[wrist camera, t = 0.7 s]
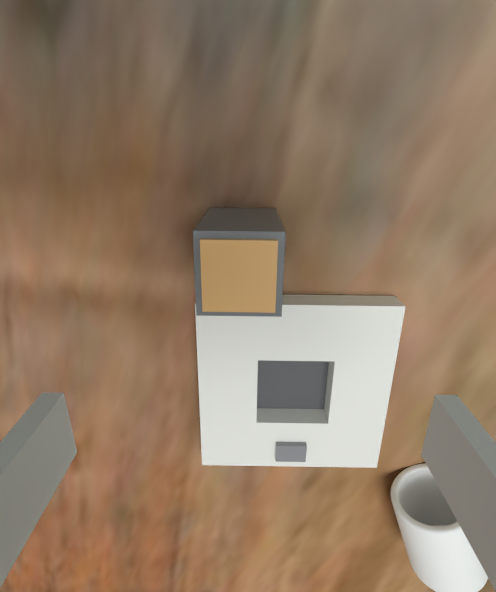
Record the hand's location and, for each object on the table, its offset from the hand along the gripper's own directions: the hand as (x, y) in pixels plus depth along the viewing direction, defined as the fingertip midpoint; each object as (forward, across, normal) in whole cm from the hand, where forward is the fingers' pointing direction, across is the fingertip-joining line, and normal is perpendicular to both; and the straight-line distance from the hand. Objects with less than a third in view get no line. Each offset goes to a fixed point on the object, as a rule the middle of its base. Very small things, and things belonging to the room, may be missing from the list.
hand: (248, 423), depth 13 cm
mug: (+21, +22, -28) cm, 41 cm away
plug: (+21, -1, +2) cm, 21 cm away
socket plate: (+21, +4, -12) cm, 24 cm away
